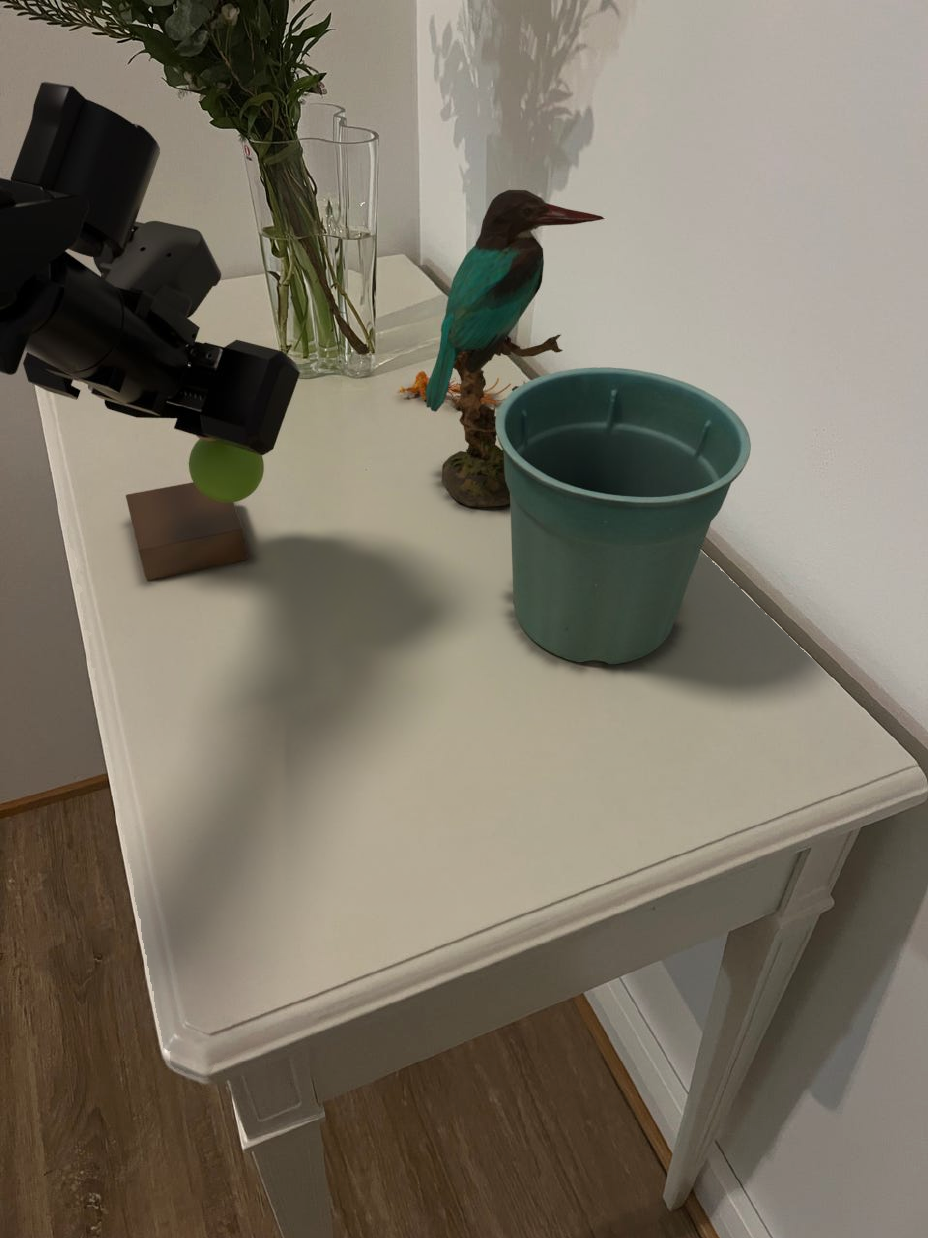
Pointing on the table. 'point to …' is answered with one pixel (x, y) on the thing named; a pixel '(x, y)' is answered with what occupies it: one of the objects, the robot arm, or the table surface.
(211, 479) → the snail figurine
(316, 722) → the table surface
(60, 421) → the table surface
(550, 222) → the sculpture
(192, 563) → the riser
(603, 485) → the flower pot
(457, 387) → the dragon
